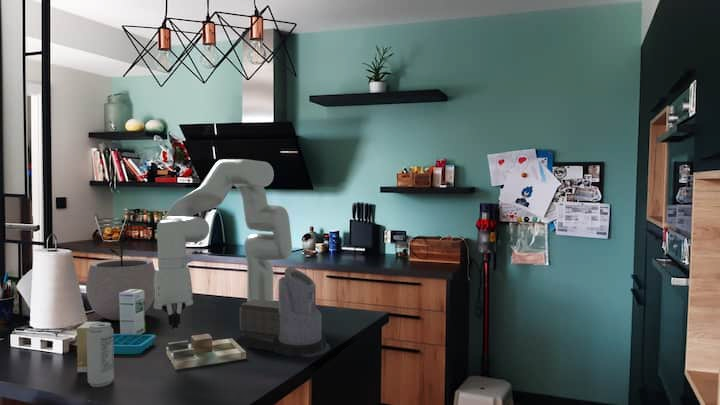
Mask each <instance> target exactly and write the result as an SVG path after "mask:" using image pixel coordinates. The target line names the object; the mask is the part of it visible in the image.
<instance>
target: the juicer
mask: <svg viewBox="0 0 720 405" xmlns="http://www.w3.org/2000/svg"><path fill="white" fill-rule="evenodd" d="M316 290H317V289H316V283H315V282H314V280H313V279H312V278H311V277H310V276H308V275H307V274H306V273H305V272H303V271H300V270H298V269H296V268H294V267H293V268H292V267H287V268H285V270H284V276H282V277H280V278H279V279H278V299H277V300H278V301H274V300H273V301H265V300H255V299H254V300H251V301H248V302H247V301H246V302H243V303H241V304H240V307H239V329H240V330H241V331H242V334H241V335H240V336H239V337H238V339H236V340H235V342H236V343H237V344H238V345H239V346H240V347H243V348H251V349H256V350H265V351H273V352H275V353H277V354H280V355H283V356H289V357H304V358H305V357H306V358H310V357H311V358H312V357H315V356H320V355H323V354H325V353H327V352H329V351H330V349H331V346H330V344H329V343H327V338H326V336H325V335H323V334H322V333H323V332H322V329H323V328H322V325H323V324H322V320H323V319H322V313H321V311H320V310H319V309H318V308H317V307H316V304H317V303H316V301H317V300H316V292H317V291H316Z"/></svg>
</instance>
